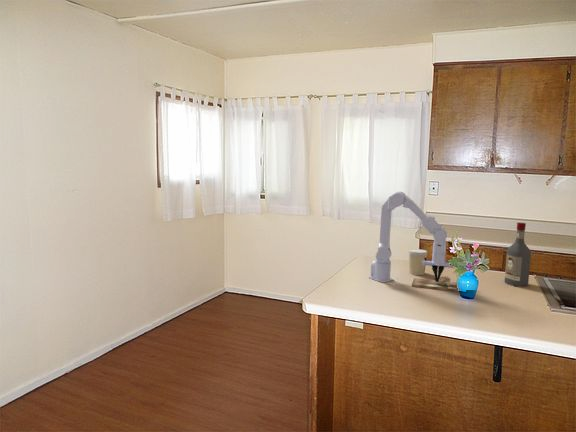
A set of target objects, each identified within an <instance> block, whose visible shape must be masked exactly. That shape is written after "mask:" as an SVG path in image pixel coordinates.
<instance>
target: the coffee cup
mask: <svg viewBox="0 0 576 432" xmlns="http://www.w3.org/2000/svg"><path fill="white" fill-rule="evenodd" d="M427 256H428V251H427V250H425V249H422V248H421V249H420V248H411V249H409V251H408V271H409V273H408V274H410V275H414V276H423V275H425V272H426V266H427V265H422V261H427V258H428V257H427Z"/></svg>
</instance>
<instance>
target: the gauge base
mask: <svg viewBox="0 0 576 432" xmlns="http://www.w3.org/2000/svg"><path fill="white" fill-rule="evenodd" d="M457 283H458V282H454V281H450V286H447V285H446V286H445V285H441V280H439V282H436V280H435V279H434V280H433V279H427V278H417V277H414V278H413V280H412V282H411V287H412V288H413V287H414V288H423V289H429V290H430V289H431V290H440V291H447V292H457V293H459V292H458V288H457Z"/></svg>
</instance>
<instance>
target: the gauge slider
mask: <svg viewBox="0 0 576 432" xmlns="http://www.w3.org/2000/svg"><path fill="white" fill-rule="evenodd" d="M440 277H441V278H440V281H441V285H445V286H446V285H447V286H450V282H451V276H448V275H447V276H446V275H441V276H440Z"/></svg>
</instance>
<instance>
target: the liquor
mask: <svg viewBox="0 0 576 432" xmlns="http://www.w3.org/2000/svg"><path fill="white" fill-rule="evenodd" d="M526 226H527V225H526V222H516V234H515V235H516V237H515V240H514V243H512V244H511V245H509V247H508V248H507V250H506V259H505V271H504V283H505V284H506V283H507V285H509V284H510V285H509V286H512V285H513V287H517V286H522V287H528V285H529V279H530V270H531V269H530V268H531V257H532V252H531V249H530V248H529V247H528V246H527V244H526V242H525V232H526V231H525V230H526Z"/></svg>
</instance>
